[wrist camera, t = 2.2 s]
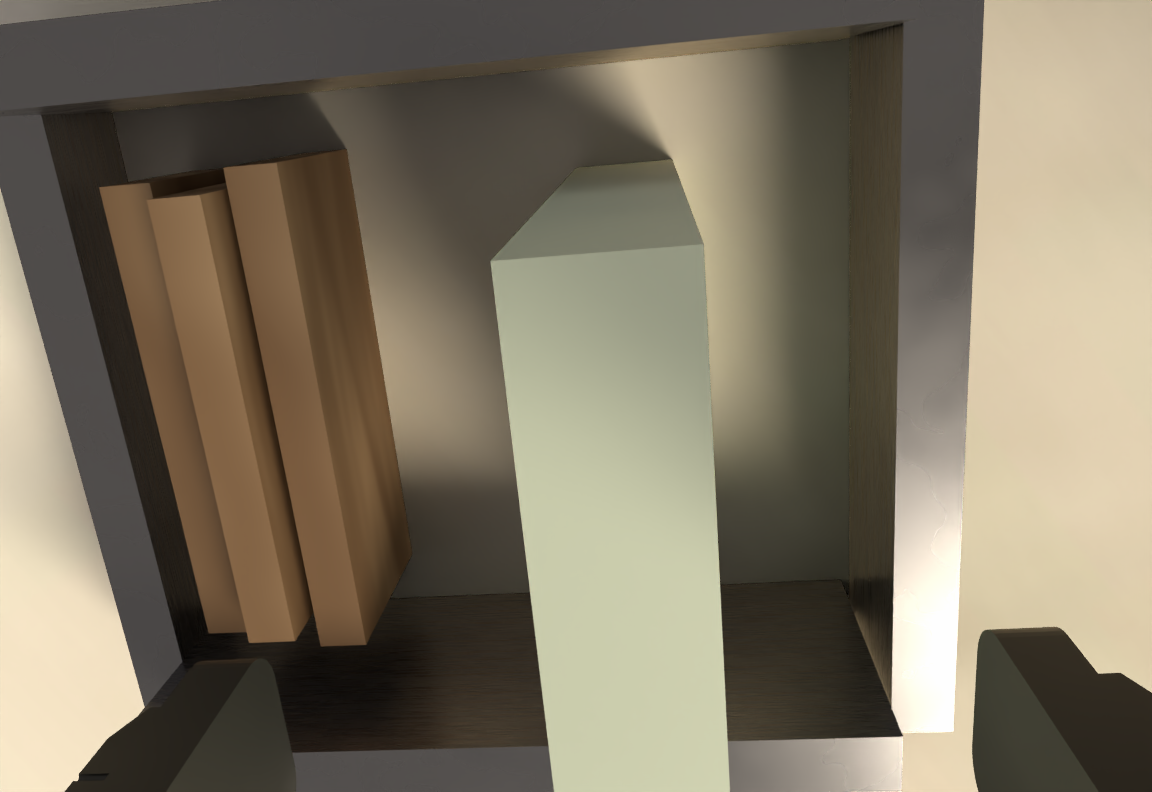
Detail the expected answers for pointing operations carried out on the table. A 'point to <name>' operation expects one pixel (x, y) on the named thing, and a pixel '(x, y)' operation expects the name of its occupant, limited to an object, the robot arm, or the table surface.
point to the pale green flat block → (618, 479)
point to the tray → (505, 621)
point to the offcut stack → (267, 391)
